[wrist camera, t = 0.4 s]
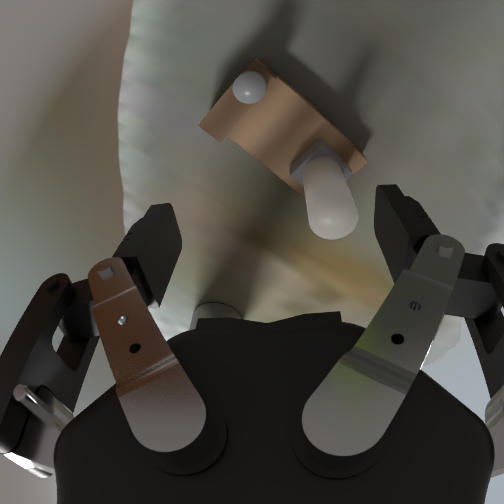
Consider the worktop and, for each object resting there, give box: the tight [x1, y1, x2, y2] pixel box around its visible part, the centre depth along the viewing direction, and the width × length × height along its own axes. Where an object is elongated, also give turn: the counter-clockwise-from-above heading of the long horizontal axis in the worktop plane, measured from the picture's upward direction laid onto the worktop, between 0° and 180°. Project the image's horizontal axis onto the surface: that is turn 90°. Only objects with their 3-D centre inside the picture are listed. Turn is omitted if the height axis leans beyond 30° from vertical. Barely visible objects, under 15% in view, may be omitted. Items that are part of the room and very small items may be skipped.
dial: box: [233, 70, 267, 104], centre depth 28 cm, size 3×3×3 cm
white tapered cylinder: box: [290, 137, 359, 240], centre depth 32 cm, size 5×5×12 cm
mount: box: [198, 58, 368, 199], centre depth 35 cm, size 18×9×6 cm, turn 50°
